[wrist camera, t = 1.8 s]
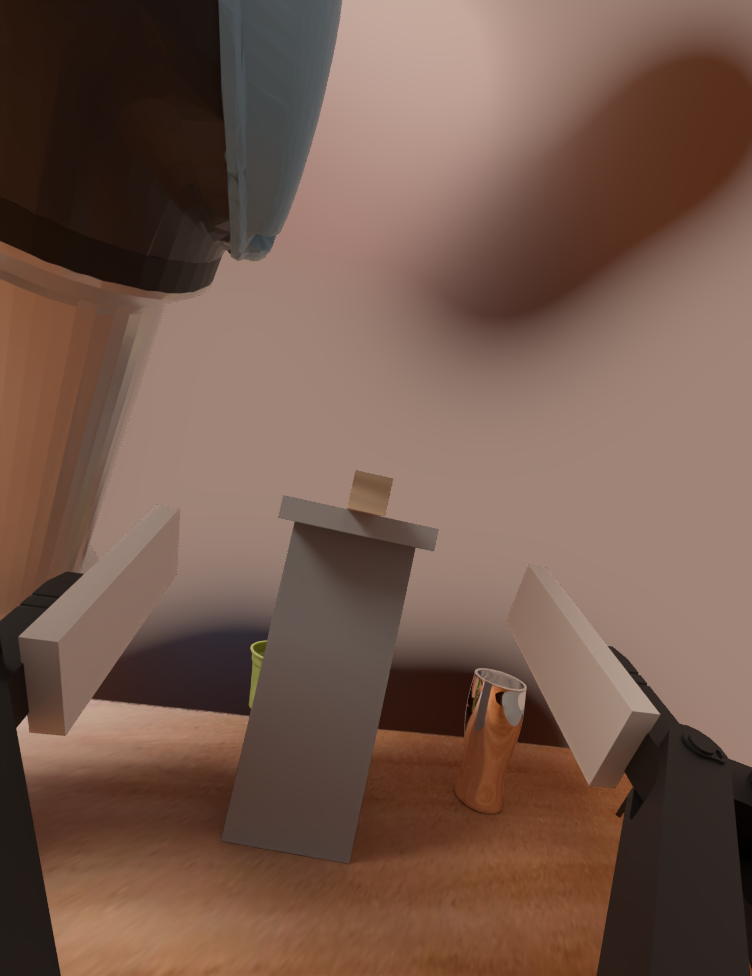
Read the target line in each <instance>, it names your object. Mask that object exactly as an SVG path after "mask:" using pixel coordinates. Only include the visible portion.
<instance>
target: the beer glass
mask: <svg viewBox="0 0 752 976" xmlns="http://www.w3.org/2000/svg"><path fill="white" fill-rule="evenodd" d="M526 689H527V687H526V685H525V684H524V683H523V682H522V681H520V680H519V679H517V678H515V677H513V676H511V675H508V674H506V673H503V672H500V671H496V670H492V669H484V668H481V669H477V670H475V675H474V678H473V682H472V685H471V689H470V693H469V697H468V701H467V707H466V714H465V731H464V732H465V733H464V755H463V762H462V766H461V769H460V772H459V775H458V777H457V780H456V782H455V786H454V790H455V793H456V795H457V797H458V798H459V799H460V800H461V801H462V802H463V803H464V804H465V805H467V806H468V807H470V808H472V809H474V810H476V811H478V812H481V813H486V814H495V813H498V812H500V811H501V809H502V807H503V783H504V777H505V773H506V769H507V766H508V764H509V761H510V758H511V756H512V753H513V751H514V748H515V745H516V743H517V740H518V736H519V733H520V729H521V725H522V720H523V714H524V704H525V695H526Z"/></svg>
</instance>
